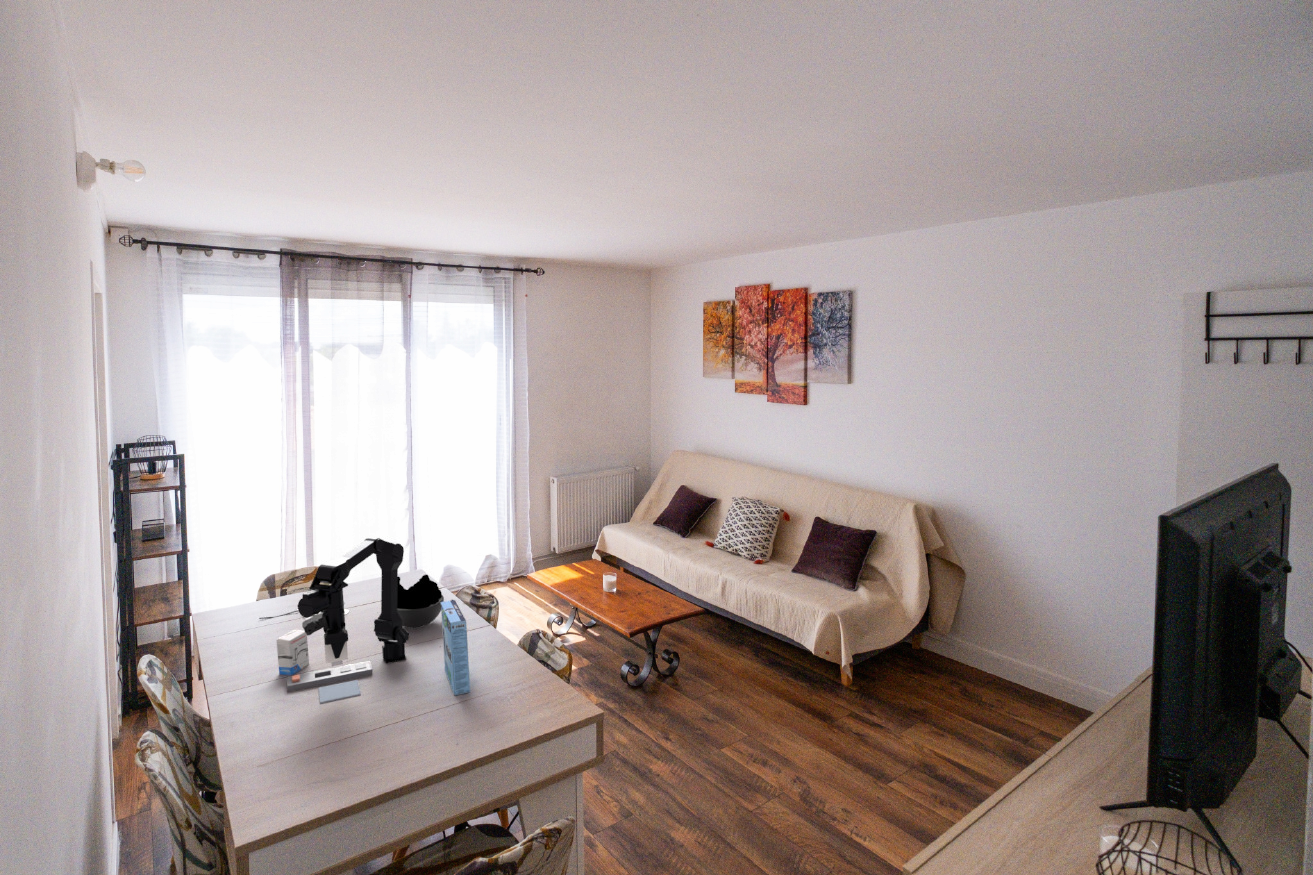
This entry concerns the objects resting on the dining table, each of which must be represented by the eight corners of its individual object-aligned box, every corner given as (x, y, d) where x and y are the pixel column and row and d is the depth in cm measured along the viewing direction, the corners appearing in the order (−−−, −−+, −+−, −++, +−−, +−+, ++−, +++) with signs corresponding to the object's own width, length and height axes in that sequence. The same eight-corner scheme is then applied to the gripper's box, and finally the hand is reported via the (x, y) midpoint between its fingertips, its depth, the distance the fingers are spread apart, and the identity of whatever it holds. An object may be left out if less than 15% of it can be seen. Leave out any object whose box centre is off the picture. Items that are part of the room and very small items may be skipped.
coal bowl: (456, 622, 266) (454, 574, 264) (412, 641, 249) (409, 590, 247) (421, 612, 277) (418, 565, 274) (377, 629, 260) (374, 580, 258)
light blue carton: (470, 692, 212) (467, 620, 209) (453, 696, 210) (449, 623, 207) (459, 666, 230) (456, 599, 227) (443, 669, 228) (440, 601, 225)
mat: (357, 681, 220) (357, 679, 220) (360, 695, 211) (360, 693, 211) (318, 689, 215) (318, 687, 215) (320, 704, 206) (319, 702, 206)
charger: (347, 658, 215) (345, 626, 214) (348, 664, 211) (346, 632, 210) (325, 663, 212) (323, 630, 211) (326, 669, 208) (324, 635, 207)
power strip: (370, 666, 230) (369, 658, 230) (372, 675, 224) (371, 666, 224) (287, 682, 219) (286, 674, 219) (287, 692, 213) (286, 683, 213)
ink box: (291, 675, 224) (289, 640, 222) (278, 674, 225) (275, 639, 223) (310, 663, 232) (307, 629, 231) (297, 662, 233) (294, 628, 232)
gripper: (302, 599, 214) (306, 648, 216) (303, 620, 198) (307, 673, 200) (342, 593, 219) (345, 641, 221) (346, 613, 203) (350, 665, 205)
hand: (336, 654), depth 211 cm, fingers closed on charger, 4 cm apart
